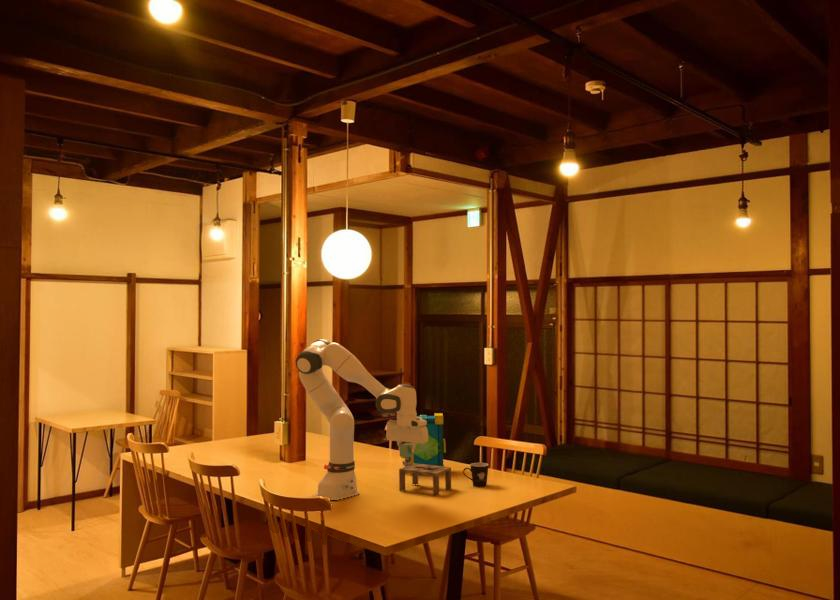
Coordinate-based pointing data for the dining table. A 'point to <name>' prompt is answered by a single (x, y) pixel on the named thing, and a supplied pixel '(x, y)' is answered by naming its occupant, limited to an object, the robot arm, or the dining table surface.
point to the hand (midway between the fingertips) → (406, 452)
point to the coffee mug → (478, 474)
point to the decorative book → (431, 443)
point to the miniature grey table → (425, 470)
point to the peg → (406, 453)
